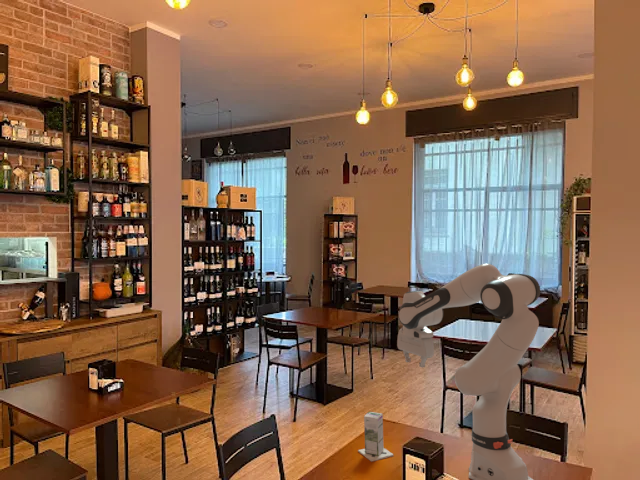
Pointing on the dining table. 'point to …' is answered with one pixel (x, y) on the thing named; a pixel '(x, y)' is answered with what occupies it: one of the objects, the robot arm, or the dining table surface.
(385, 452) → the letter card
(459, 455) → the dining table surface
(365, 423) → the syrup box
